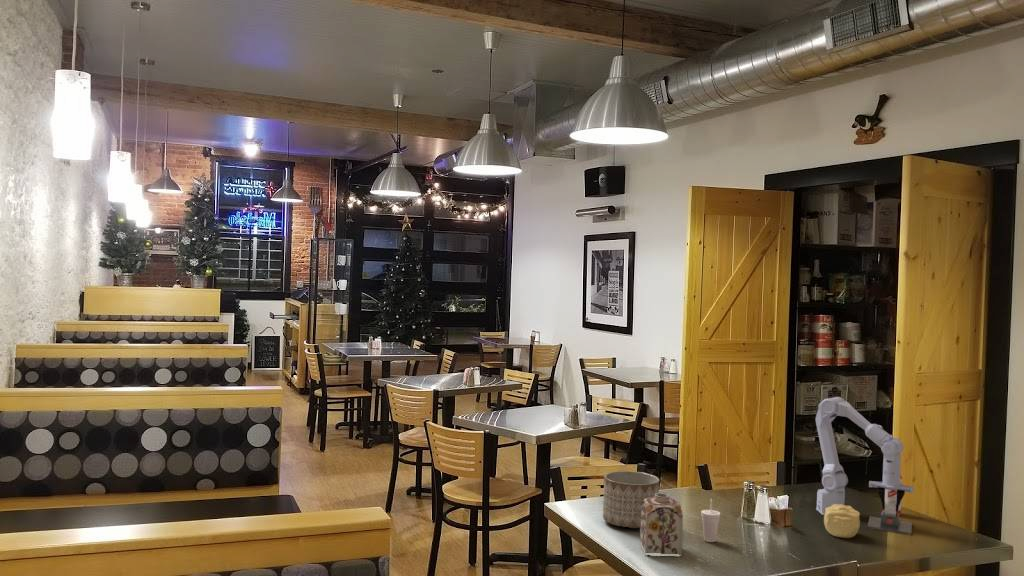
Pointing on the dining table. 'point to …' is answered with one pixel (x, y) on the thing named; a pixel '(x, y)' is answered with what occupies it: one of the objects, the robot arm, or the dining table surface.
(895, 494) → the beer can
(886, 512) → the block
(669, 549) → the decorative jar
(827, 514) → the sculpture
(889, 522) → the grey square base
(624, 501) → the planter
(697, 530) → the dining table surface
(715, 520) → the smoothie
